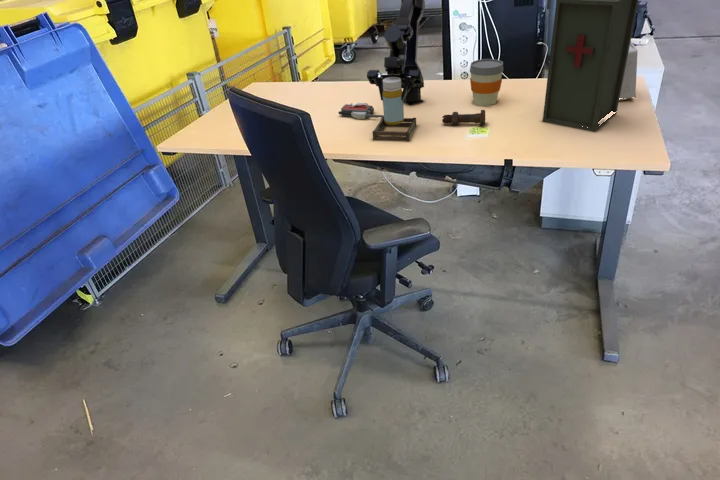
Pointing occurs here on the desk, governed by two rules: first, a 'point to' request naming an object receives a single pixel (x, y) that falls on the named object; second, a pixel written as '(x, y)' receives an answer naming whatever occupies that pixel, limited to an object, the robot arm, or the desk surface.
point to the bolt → (465, 118)
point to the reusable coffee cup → (486, 81)
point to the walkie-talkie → (358, 111)
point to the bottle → (392, 101)
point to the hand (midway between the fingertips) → (391, 100)
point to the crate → (380, 134)
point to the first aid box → (587, 61)
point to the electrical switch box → (630, 74)
